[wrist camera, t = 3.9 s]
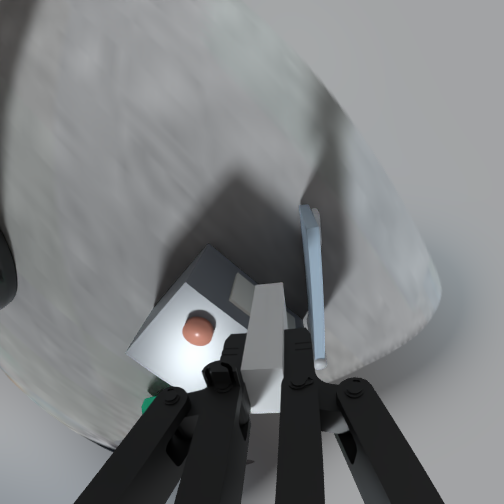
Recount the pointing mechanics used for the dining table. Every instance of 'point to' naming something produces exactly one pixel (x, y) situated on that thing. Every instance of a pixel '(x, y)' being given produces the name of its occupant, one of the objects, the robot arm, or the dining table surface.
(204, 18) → the dining table surface
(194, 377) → the housing
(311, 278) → the side door
